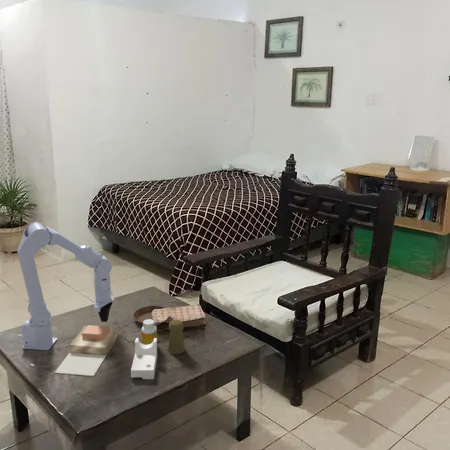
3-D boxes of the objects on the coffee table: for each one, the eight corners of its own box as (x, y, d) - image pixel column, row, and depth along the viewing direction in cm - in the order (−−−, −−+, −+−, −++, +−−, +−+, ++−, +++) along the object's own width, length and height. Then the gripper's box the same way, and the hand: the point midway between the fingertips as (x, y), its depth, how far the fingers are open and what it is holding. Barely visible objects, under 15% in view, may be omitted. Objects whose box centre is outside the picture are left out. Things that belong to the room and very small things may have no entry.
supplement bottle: (154, 351, 173) (153, 326, 170) (139, 349, 174) (138, 324, 171) (159, 343, 178) (158, 319, 175) (144, 341, 179) (144, 317, 176)
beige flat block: (70, 352, 171) (69, 345, 170) (85, 332, 184) (84, 325, 183) (106, 355, 169) (106, 347, 169) (119, 335, 183) (118, 328, 182)
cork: (164, 349, 174) (163, 321, 171) (177, 343, 178) (176, 316, 175) (175, 356, 170) (175, 327, 167) (188, 349, 174) (188, 321, 171)
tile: (82, 338, 174) (81, 333, 174) (88, 330, 180) (88, 325, 180) (104, 339, 174) (103, 334, 173) (109, 331, 179) (109, 326, 179)
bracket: (136, 357, 169) (135, 338, 167) (157, 357, 169) (156, 338, 167) (131, 379, 157) (130, 359, 154) (153, 379, 157) (153, 358, 155)
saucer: (140, 332, 186) (140, 325, 185) (128, 315, 198) (128, 309, 198) (176, 324, 192) (176, 317, 192) (163, 308, 205) (163, 302, 204)
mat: (54, 373, 159) (54, 372, 159) (69, 353, 170) (69, 352, 170) (93, 376, 158) (93, 375, 157) (106, 356, 169) (106, 355, 169)
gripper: (106, 296, 174) (108, 331, 178) (119, 280, 188) (120, 312, 192) (87, 295, 175) (89, 329, 179) (101, 279, 189) (103, 311, 192)
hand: (104, 321), depth 185 cm, fingers closed
